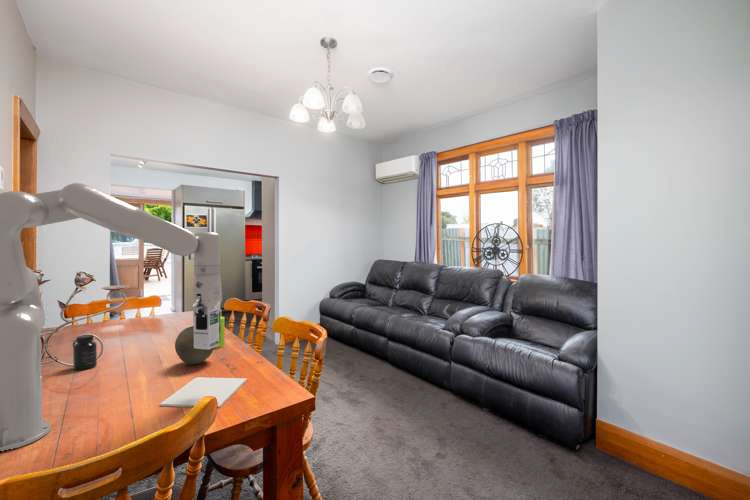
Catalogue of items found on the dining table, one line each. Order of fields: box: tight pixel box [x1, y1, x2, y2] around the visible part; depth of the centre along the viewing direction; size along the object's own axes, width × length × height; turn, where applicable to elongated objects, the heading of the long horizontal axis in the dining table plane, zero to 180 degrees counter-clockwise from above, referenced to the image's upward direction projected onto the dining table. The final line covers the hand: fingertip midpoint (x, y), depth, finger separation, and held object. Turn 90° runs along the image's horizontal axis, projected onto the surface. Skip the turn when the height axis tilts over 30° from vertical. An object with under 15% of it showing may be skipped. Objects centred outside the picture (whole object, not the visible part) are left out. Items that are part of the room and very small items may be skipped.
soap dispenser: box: [214, 302, 226, 349], centre depth 159 cm, size 6×7×20 cm
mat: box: [159, 376, 248, 409], centre depth 112 cm, size 20×18×1 cm
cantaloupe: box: [174, 326, 215, 365], centre depth 136 cm, size 14×14×15 cm
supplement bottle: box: [72, 334, 98, 371], centre depth 131 cm, size 7×7×12 cm
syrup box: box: [192, 301, 221, 350], centre depth 111 cm, size 6×6×14 cm
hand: (207, 326), depth 111 cm, fingers closed on syrup box, 6 cm apart
